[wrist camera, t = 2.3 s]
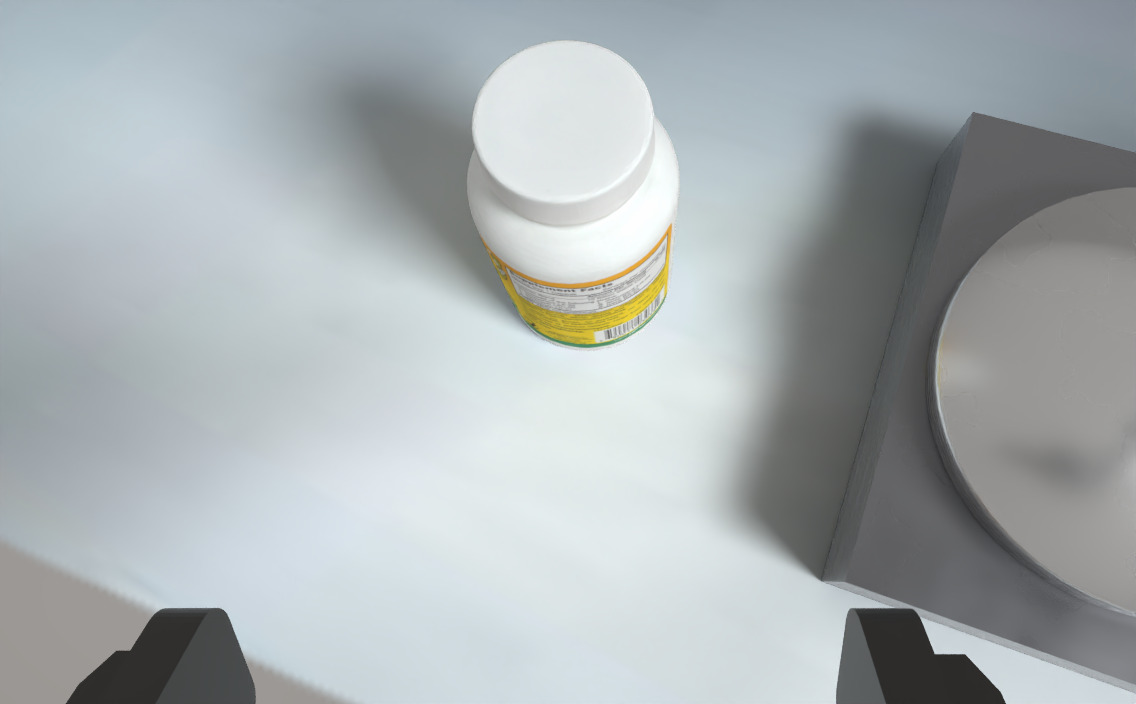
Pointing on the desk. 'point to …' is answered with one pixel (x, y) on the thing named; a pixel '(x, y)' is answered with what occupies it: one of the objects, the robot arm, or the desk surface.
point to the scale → (1009, 408)
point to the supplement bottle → (575, 193)
